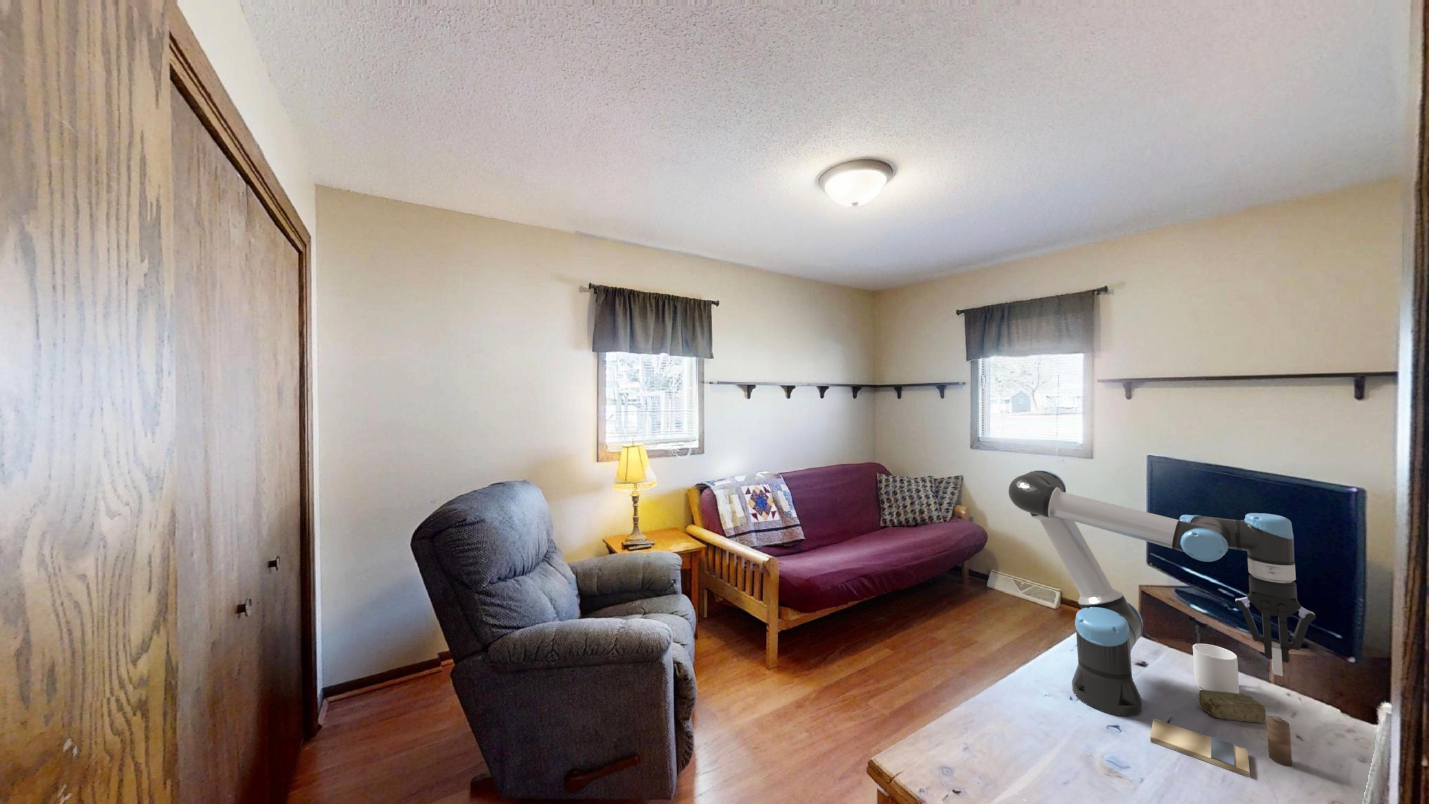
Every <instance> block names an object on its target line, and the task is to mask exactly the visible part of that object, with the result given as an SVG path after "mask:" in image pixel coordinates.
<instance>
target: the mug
mask: <svg viewBox="0 0 1429 804" xmlns="http://www.w3.org/2000/svg"><path fill="white" fill-rule="evenodd" d="M1192 653H1193V654H1192V655H1193V669H1194V671H1193V672H1194V681H1195V684H1196V686H1198V687H1199V688H1200V689H1201V690H1210V691H1219V692H1229V693H1239V694H1240V681H1239V665H1238V656H1237V654H1236V653H1234V652H1233V651H1231V650H1229V649H1226V648H1223V647H1221V646H1218V645H1213V644H1208V643H1195V644H1193V645H1192Z"/></svg>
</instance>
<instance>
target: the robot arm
mask: <svg viewBox="0 0 1429 804" xmlns="http://www.w3.org/2000/svg"><path fill="white" fill-rule="evenodd" d="M1066 489H1067V488H1066V484H1065V482H1064V481H1063V480H1062V478H1061V477H1060V476H1059V475H1058V474H1056V473H1054V472H1051V471H1049V470H1043V469H1040V470H1034V471H1033V470H1032V471H1030V472H1027V473H1025V474H1022V475H1019V476H1016V477H1015V478H1014V479H1013V480H1012V481H1011V482H1010V484H1009V486H1008V496H1009V499H1010V500H1011V502H1012V503H1013V504H1014V506H1015V507H1016V508H1019V509H1020V510H1022V511H1024V512H1027V513H1029V514H1030V516H1031V518H1034V519H1036V520H1038V521H1039V522H1040V523H1041V525H1042V526H1043V529H1044V530H1045V532H1046V534H1047V536H1048V538H1049V539H1050V541H1051V544H1052V545H1053V548H1054V549H1055V551H1056V553H1057V555H1058V556H1059V558H1060V560H1061V562H1062V564H1063V565H1064V567H1065V569H1066V571H1067V572H1068V575H1069V577H1070V578H1071V580H1072V582H1073V584H1074V585H1075V587H1076V590H1077V591H1078V593H1079V595H1080V596H1079V598H1078V600H1077V602H1078V604H1079V607H1080V608H1081V609H1080V610H1078V611H1077V612H1076V615H1075V620H1074V625H1075V633H1076V648H1077V650H1076V652H1077V662H1078V664H1077V667H1076V669H1075V672H1074V675H1073V677H1072V680H1071V690H1072V693H1073V692H1074V693H1073V695H1075V694H1076V695H1075V697H1076V696H1078V697H1077V699H1078V700H1080V699H1081V700H1082V702H1083V701H1084V702H1085V703H1084V702H1083V703H1084V704H1086V703H1087V704H1086V705H1088V706H1090V707H1091V708H1094V709H1095V710H1099V711H1101V712H1105V713H1108V714H1111V715H1118V716H1125V717H1128V716H1129V717H1130V716H1131V717H1132V716H1138V715H1139V714H1141V713H1142V712H1143V710H1144V709H1143V700H1142V697H1141V695H1140V693H1139V690H1138V687H1137V685H1136V684H1135V681H1134V679H1133V672H1132V670H1133V669H1132V657H1131V656H1132V650H1133V648H1134V646H1135V645H1136V643H1137V642H1138V640H1139V639H1140V638H1141V636H1142V633H1143V631H1144V630H1143V629H1144V624H1143V623H1144V622H1143V618H1142V615H1141V613H1140V612H1139V611H1138V609H1137V607H1136V608H1135V606H1134V605H1133V604H1131V603H1130V602H1128V601H1127V599H1126V598H1125V596H1124V595H1123V593H1122V592H1121V591H1118V590H1116V589H1114V588H1113V586H1112V585H1111V583H1110V581H1109V580H1108V578H1107V576H1106V574H1105V572H1104V571H1103V569H1102V567H1101V565H1100V564H1099V562H1098V560H1097V558H1096V557H1095V555H1094V553H1093V551H1092V549H1091V548H1090V546H1089V544H1088V543H1087V541H1086V539H1085V537H1084V536H1083V534H1082V532H1081V530H1080V528H1079V527H1078V525H1077V524H1076V523H1080V524H1083V525H1087V526H1089V527H1090V526H1091V527H1093V528H1096V529H1101V530H1105V531H1108V532H1111V533H1115V534H1120V535H1122V536H1125V537H1129V538H1134V539H1137V540H1141V541H1144V542H1148V543H1152V544H1154V545H1155V544H1156V545H1158V546H1161V547H1166V548H1169V549H1173V550H1177V551H1179V552H1183V553H1185V554H1186V555H1187V556H1189V557H1190V558H1192V559H1195V560H1197V561H1200V562H1208V563H1209V562H1210V563H1211V562H1216V561H1218V560H1220V559H1221V558H1223V556H1225V555H1226V553H1227V552H1228V551H1229V549H1233V550H1238V551H1246V552H1247V568H1248V573H1249V575H1248V587H1249V591H1248V593H1247V594H1246V596H1245V597H1236V598H1234V599H1235V604H1236V606H1238V608H1239V609H1240V610H1241V611H1242V615H1243V616H1244V620H1245V622H1246V623H1247V627H1248V630H1249V631H1250V634H1251V637H1252V639H1253V640H1254V641H1255V642H1258V643H1261V644H1262V645H1263V648H1264V649H1263V650H1264V657H1265V658H1266V659H1269V660H1271V668H1272V669H1271V670H1272V675H1276V676H1280V677H1283V676H1284V672H1283V663H1287V664H1288V663H1290V654H1289V652H1290V650H1295V651H1300V649H1302V648H1301V647H1302V645H1303V642H1304V639H1305V637H1306V635H1307V630H1308V628H1309V626H1310V623H1312V622H1313V621H1315V620H1316V619H1317V616H1316V614H1315V612H1314V611H1312V610H1308V609H1306V608H1304V607H1303V606H1302V605H1301V603H1300V602H1299V600H1298V592H1297V590H1298V589H1297V583H1296V582H1295V581H1296V580H1297V577H1296V563H1295V540H1294V532H1293V525H1292V521H1291V520H1290V519H1289V518H1287V517H1284V516H1282V515H1278V514H1271V513H1265V512H1263V513H1258V512H1249V513H1247V514H1245V518H1244V519H1240V520H1239V519H1231V518H1230V519H1229V518H1222V517H1212V516H1204V515H1203V516H1202V515H1200V514H1194V515H1191V514H1182V515H1181V516H1180V517H1179V519H1176V518H1172V517H1168V516H1164V515H1160V514H1155V513H1151V512H1146V511H1143V510H1139V509H1134V508H1130V507H1125V506H1123V505H1122V506H1121V505H1118V504H1115V503H1110V502H1105V501H1102V500H1097V499H1095V498H1094V499H1092V498H1089V497H1084V496H1081V495H1077V494H1074V493H1073V494H1072V493H1069V492H1067V490H1066ZM1250 603H1251V604H1252V605H1253V606H1254V607H1255V608H1256V609H1257V611H1259V612H1260V613H1261V618H1262V619H1261V620H1262V632H1263V634H1262V635H1263V636H1262V635H1261V634H1260V633H1259V630H1258V628H1257V626H1256V623H1255V621H1254V617H1253V616H1252V613H1251V610H1250V607H1251V606H1250ZM1296 612H1298V616H1299V619H1298V622H1297V625H1296V627H1295V630H1294V634H1293V636H1292V639H1291V641H1289V635H1288V634H1289V633H1288V618H1289V617H1291V616H1292V615H1294V614H1296ZM1271 616H1274V617H1277V620H1278V636H1279V637H1278V638H1279V645H1278V644H1274V643H1273V641H1272V640H1273V639H1272V626H1271V625H1272V624H1271ZM1081 700H1080V701H1081Z"/></svg>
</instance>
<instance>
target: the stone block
mask: <svg viewBox="0 0 1429 804" xmlns="http://www.w3.org/2000/svg"><path fill="white" fill-rule="evenodd" d="M1198 696H1199V697H1198V699H1199V700H1198V701H1199V702H1198V705H1199V707H1200V708H1201V710H1202V711H1204V712H1205V713H1207V714H1209V715H1210V716H1211V717H1214V718H1217V719H1223V720H1226V721H1227V720H1228V721H1235V722H1246V723H1247V722H1249V723H1256V724H1257V723H1258V724H1262V723H1265V721H1266V717H1267V715H1266V714H1267V713H1266V709H1265V706H1264V705H1263V704H1262V703H1261V702H1259V701H1258V700H1256V699H1255V698H1254V697H1252V696H1250V695H1247V694H1244V693H1240V692H1239V693H1229V692H1219V691H1210V690H1204V689H1200V690H1198Z"/></svg>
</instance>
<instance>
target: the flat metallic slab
mask: <svg viewBox="0 0 1429 804" xmlns="http://www.w3.org/2000/svg"><path fill="white" fill-rule="evenodd" d="M1152 719H1153V720H1152V723H1151V725H1152V726H1151V731H1150V742H1151V743H1154V744H1156V745H1159V746H1162V747H1164V748H1167V749H1170V750H1173V751H1177V752H1178V753H1181V754H1184V755H1187V756H1190V757H1193V758H1195V759H1199V760H1201V761H1204V762H1206V763H1209V764H1212V765H1215V766H1217V767H1220V768H1223V769H1226V770H1228V771H1231V772H1235V773H1236V774H1239V775H1243V776H1245V777H1248V778H1251V773H1250V770H1251V769H1250V763H1249V752H1248V749H1246V748H1243V747H1239V746H1237V745H1234V743H1232V742H1229V741H1226V740H1223V739H1219V738H1218V737H1214V736H1207V735H1203V734H1201V733H1199V732H1196V731H1193V730H1189V729H1186V728H1183V727H1180V726H1177V725H1175V724H1171V723H1168V722H1166V721H1161V720H1159V719H1156V718H1152Z"/></svg>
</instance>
